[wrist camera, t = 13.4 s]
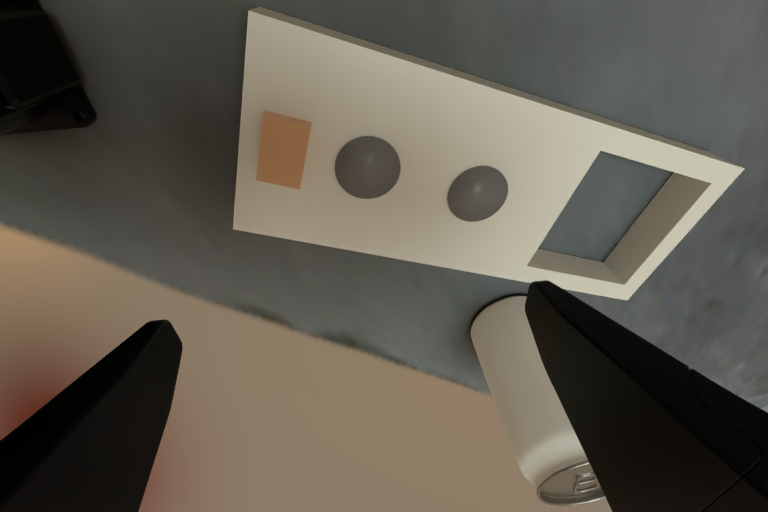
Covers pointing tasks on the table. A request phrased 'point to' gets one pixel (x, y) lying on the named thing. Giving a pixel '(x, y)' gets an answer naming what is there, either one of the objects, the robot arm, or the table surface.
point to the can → (531, 406)
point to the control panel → (439, 163)
